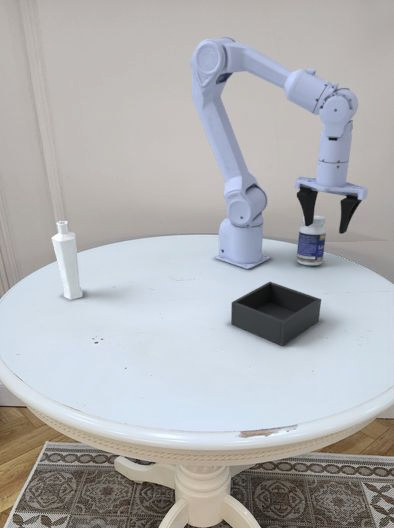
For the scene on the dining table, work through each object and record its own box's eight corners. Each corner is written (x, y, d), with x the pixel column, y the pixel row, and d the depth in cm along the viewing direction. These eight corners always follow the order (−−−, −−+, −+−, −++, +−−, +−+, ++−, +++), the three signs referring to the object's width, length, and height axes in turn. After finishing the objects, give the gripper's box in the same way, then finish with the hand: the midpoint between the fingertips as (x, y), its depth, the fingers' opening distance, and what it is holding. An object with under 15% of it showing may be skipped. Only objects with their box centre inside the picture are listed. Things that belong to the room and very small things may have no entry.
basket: (231, 324, 95) (231, 302, 93) (268, 302, 102) (269, 281, 100) (282, 346, 89) (284, 322, 87) (318, 321, 96) (321, 299, 93)
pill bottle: (322, 266, 114) (327, 220, 110) (295, 265, 115) (299, 218, 111) (322, 259, 119) (327, 214, 115) (296, 258, 121) (300, 213, 116)
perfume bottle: (90, 294, 107) (80, 221, 99) (72, 302, 104) (60, 228, 96) (76, 287, 110) (65, 216, 102) (58, 295, 107) (45, 222, 99)
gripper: (289, 158, 103) (284, 227, 110) (360, 169, 95) (350, 241, 102) (306, 152, 107) (301, 217, 115) (376, 161, 100) (365, 231, 107)
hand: (325, 228), depth 109 cm, fingers open, 7 cm apart
